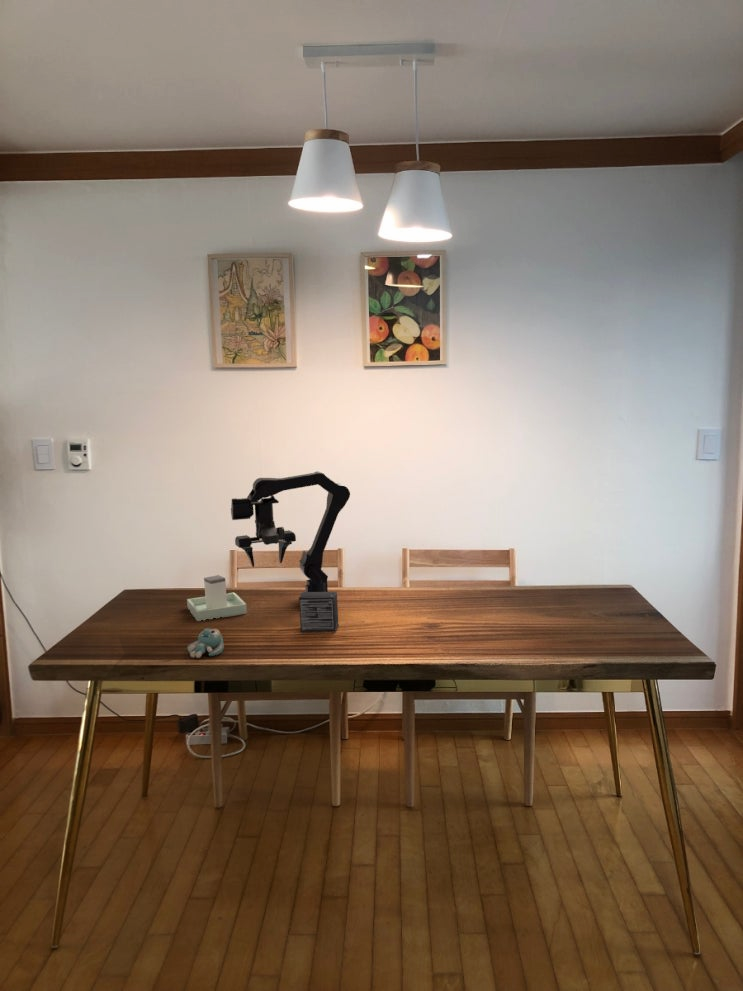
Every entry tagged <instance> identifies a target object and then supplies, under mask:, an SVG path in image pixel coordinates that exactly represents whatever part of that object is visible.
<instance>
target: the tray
mask: <svg viewBox="0 0 743 991" xmlns="http://www.w3.org/2000/svg"><path fill="white" fill-rule="evenodd" d="M226 597H227V607H221V608H214V609H207V608H206V599H205V596H199V597H193V598H186V604H187V606H186V607H187V610H190V611H189V612H190V613H191V615H192V616H193V618H194V617H195V618H194V619H195V620H196V622H202V621H201V620H203V621H207V620H206V619H209V620H213V618H216V619H221V618H220V617H222V618H227V617H228V618H229V617H234V616H240V615H247V614H248V610H247V609H248V607H247V603H246V601H244V600H243V599H242V598H241V597H240V596H239V595H238V594H237V593H235V592H229V593H227V592H226Z"/></svg>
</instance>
